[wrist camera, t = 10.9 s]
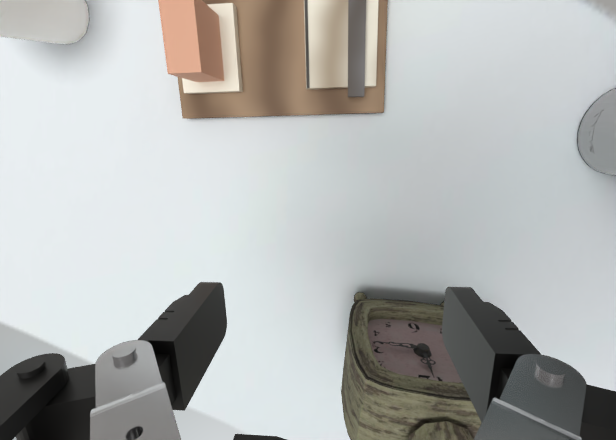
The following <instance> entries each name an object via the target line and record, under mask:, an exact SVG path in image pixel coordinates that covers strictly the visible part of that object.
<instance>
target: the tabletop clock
mask: <svg viewBox="0 0 616 440" xmlns="http://www.w3.org/2000/svg"><path fill="white" fill-rule="evenodd" d="M354 302H355V303H354V304H353V306H352V309H351V312H350V318H349V327H348V335H347V343H346V351H345V360H344V368H343V378H342V389H341V394H342V403H343V413H344V420H345V424H346V428H347V432H348V435H349V437H350V439H351V440H474V438H475V436H476V434H477V432H478V429H479V427H480V425H481V421H480V418H479V416H478V414H477V412H476V410H475V408H474V406H473V404H472V402H471V400H470V398H469V395H468V393H467V391H466V389H465V387H464V385H463V383H462V381H461V379H460V377H459V375H458V372H457V370H456V368H455V366H454V364H453V362H452V360H451V358H450V356H449V354H448V352H447V350H446V347H445V345H444V342H443V337H442V321H443V311H444V302H443V303H441V305H435V304H428V303H420V302H413V301H403V300H390V299H367V297H366V295H365V294H364V293H361V292H358V293H356V294H355V295H354Z"/></svg>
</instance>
